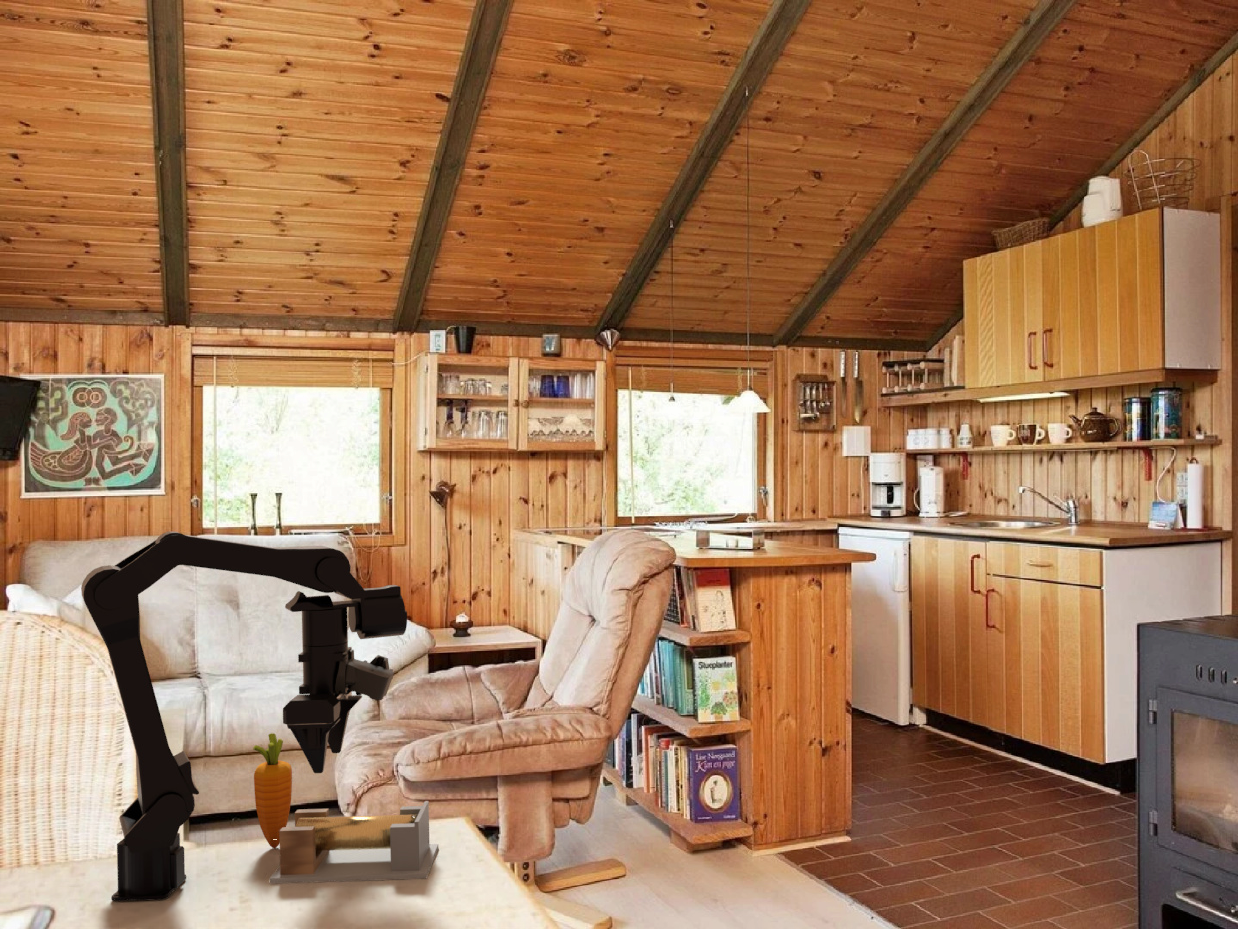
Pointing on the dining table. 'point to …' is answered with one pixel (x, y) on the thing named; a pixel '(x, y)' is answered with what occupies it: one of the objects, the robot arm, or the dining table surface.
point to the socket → (410, 839)
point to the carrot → (272, 791)
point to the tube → (354, 831)
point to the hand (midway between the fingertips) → (327, 762)
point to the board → (358, 867)
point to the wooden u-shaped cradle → (300, 845)
